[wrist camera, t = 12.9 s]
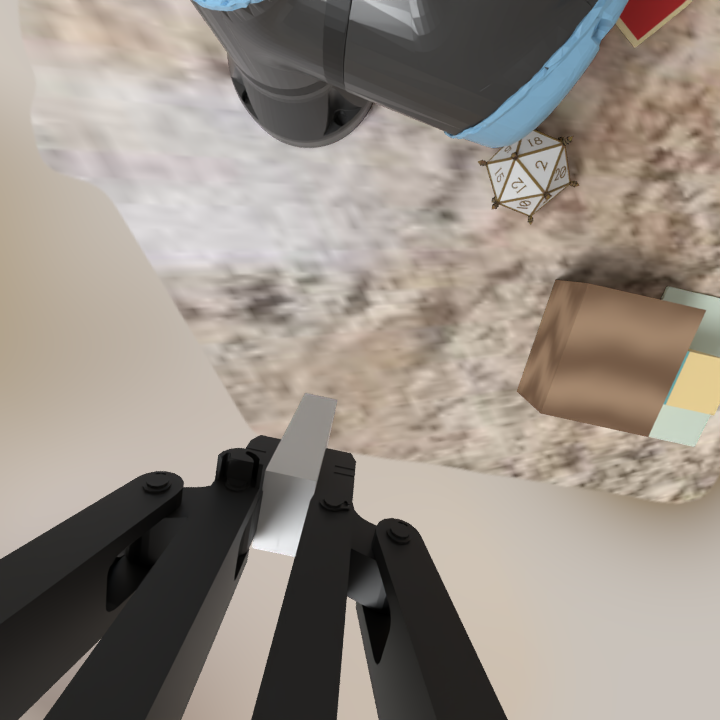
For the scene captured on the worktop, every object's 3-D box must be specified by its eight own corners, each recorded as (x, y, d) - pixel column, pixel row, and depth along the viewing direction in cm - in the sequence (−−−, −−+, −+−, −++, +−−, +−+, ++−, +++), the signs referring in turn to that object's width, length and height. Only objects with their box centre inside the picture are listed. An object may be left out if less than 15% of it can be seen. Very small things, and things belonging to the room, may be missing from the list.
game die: (509, 170, 44) (590, 100, 35) (530, 237, 43) (618, 183, 34) (450, 164, 40) (524, 84, 32) (470, 238, 39) (553, 177, 30)
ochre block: (684, 350, 39) (739, 362, 39) (644, 338, 45) (692, 349, 45) (660, 403, 40) (713, 415, 41) (624, 385, 46) (671, 395, 46)
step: (555, 279, 44) (588, 283, 37) (655, 302, 44) (706, 310, 37) (516, 391, 47) (540, 413, 41) (609, 411, 48) (648, 436, 41)
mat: (666, 286, 43) (668, 286, 43) (761, 308, 44) (763, 308, 43) (607, 426, 48) (608, 427, 48) (692, 445, 48) (694, 446, 48)
